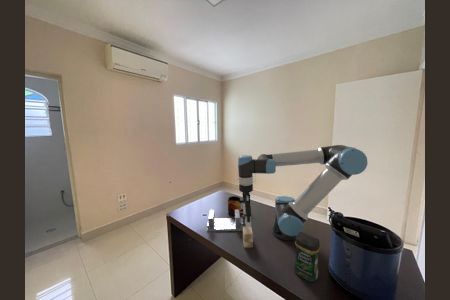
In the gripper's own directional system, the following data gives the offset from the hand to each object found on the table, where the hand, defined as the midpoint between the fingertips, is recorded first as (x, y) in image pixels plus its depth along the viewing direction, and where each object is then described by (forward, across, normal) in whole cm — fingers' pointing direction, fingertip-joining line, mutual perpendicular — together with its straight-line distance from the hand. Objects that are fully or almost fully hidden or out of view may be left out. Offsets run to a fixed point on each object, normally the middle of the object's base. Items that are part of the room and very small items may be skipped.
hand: (246, 219), depth 97 cm
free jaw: (+13, -18, -2) cm, 22 cm away
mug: (+15, -35, -4) cm, 39 cm away
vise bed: (+14, -18, -12) cm, 26 cm away
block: (+15, 0, 0) cm, 15 cm away
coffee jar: (+15, +21, +24) cm, 35 cm away
